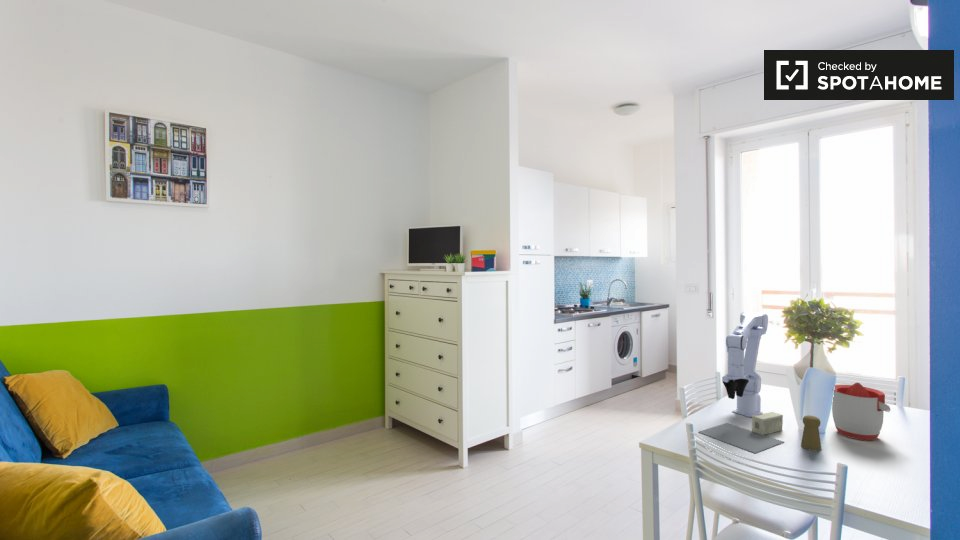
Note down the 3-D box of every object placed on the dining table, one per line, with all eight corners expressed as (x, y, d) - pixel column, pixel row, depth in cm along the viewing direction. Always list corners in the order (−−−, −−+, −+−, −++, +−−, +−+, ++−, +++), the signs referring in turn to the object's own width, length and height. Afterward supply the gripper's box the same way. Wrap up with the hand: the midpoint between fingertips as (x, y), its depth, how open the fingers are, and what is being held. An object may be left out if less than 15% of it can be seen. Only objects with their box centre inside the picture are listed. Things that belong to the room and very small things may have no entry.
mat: (727, 423, 191) (727, 422, 191) (784, 442, 172) (784, 441, 172) (698, 432, 182) (698, 431, 182) (755, 453, 163) (755, 452, 163)
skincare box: (751, 431, 182) (771, 427, 187) (762, 435, 178) (782, 430, 183) (752, 415, 181) (771, 411, 187) (763, 418, 177) (783, 414, 183)
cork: (815, 452, 164) (816, 420, 163) (797, 445, 169) (797, 415, 168) (825, 448, 166) (825, 417, 166) (806, 442, 172) (807, 412, 171)
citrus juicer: (880, 448, 165) (881, 392, 164) (823, 432, 180) (824, 381, 179) (897, 438, 174) (898, 385, 173) (841, 424, 188) (842, 374, 187)
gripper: (734, 368, 184) (733, 402, 184) (756, 363, 191) (755, 397, 191) (717, 364, 190) (717, 398, 190) (739, 360, 197) (738, 392, 197)
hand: (735, 397), depth 191 cm, fingers open, 5 cm apart
